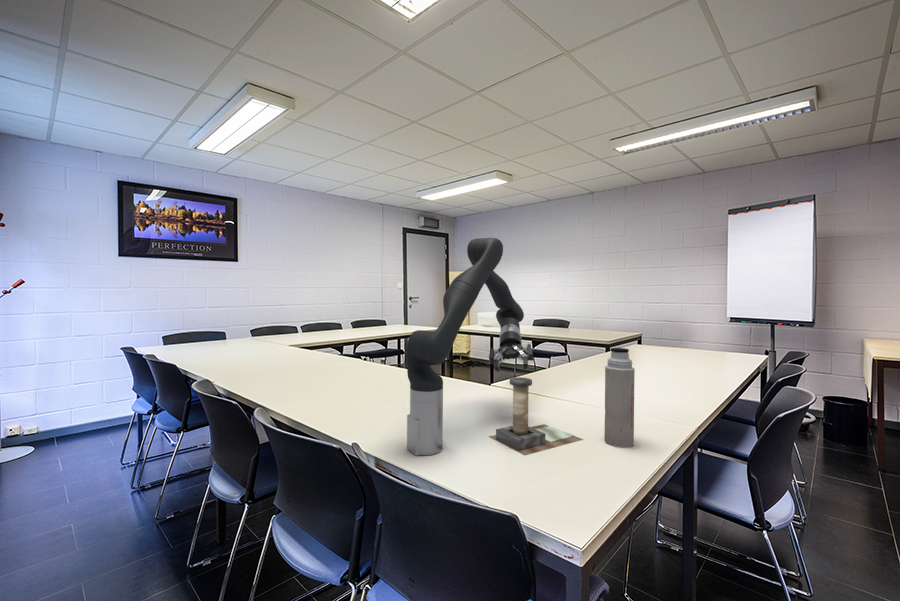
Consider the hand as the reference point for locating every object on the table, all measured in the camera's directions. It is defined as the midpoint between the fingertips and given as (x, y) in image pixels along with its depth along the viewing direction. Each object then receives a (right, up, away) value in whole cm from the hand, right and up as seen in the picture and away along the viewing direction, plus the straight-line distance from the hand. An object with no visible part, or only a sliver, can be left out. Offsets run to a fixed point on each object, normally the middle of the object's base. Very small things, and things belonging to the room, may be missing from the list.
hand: (511, 368), depth 122 cm
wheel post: (+1, -19, -10) cm, 22 cm away
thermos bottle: (+31, -21, -7) cm, 38 cm away
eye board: (+6, -21, -7) cm, 23 cm away
